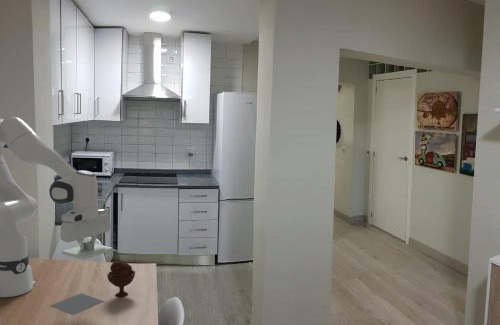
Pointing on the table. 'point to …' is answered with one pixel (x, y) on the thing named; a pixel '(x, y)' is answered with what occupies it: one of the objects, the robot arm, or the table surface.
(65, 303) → the mat
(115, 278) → the ice cream bowl
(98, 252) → the lid
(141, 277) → the table surface
